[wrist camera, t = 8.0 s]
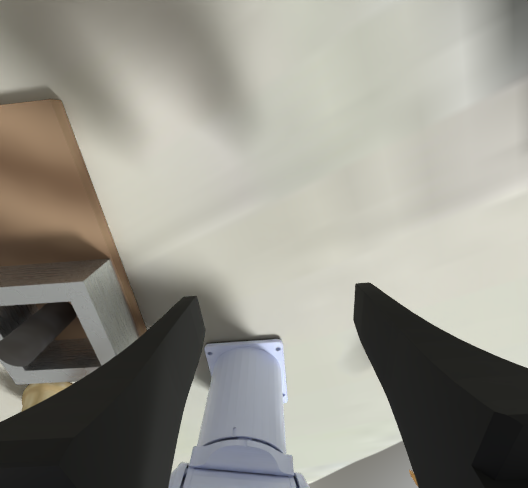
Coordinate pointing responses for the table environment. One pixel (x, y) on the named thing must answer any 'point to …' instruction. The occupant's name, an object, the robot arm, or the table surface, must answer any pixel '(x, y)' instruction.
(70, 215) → the brown board
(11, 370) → the grey square frame
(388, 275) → the table surface
